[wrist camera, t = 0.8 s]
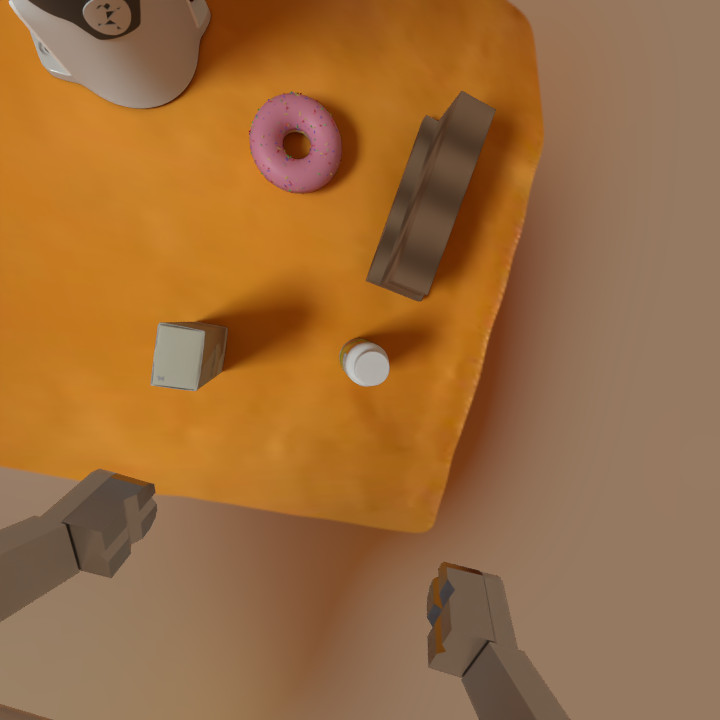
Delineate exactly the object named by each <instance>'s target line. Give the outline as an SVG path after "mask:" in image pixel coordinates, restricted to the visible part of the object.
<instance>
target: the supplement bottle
mask: <svg viewBox="0 0 720 720" xmlns="http://www.w3.org/2000/svg"><path fill="white" fill-rule="evenodd" d="M339 359H340V364H341V366H342V368H343V370H344V371H345V372H346V374H347V375H348V376H349V378H350V379H351V380H352V381H353V382H355V383H356V384H358V385H361V386H374V385H378V384H380V383H382V382H383V381H384V380H385V379H386V378H387V376H388V374H389V369H390V367H389V359H388V356H387V354H386V352H385V351H384V350H383V349H382V348H381V347H380V346H378V345H377V344H374V343H372V342H370V341H368V340H365V339H360V338H357V339H352V340H350V341H348V342H347V343H346V344H345V345H344V346H343V347H342V349H341V352H340V357H339Z"/></svg>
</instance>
